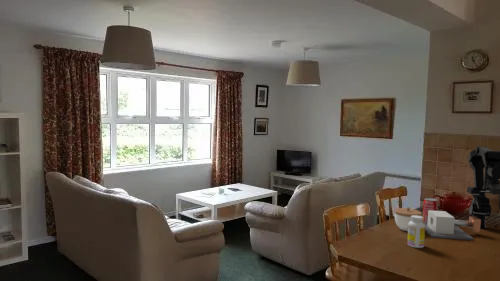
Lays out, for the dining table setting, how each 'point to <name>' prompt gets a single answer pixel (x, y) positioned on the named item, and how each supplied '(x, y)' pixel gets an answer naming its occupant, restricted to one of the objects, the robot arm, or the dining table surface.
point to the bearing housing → (444, 226)
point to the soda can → (429, 207)
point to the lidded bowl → (405, 217)
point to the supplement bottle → (416, 232)
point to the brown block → (469, 223)
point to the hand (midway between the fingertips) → (489, 209)
